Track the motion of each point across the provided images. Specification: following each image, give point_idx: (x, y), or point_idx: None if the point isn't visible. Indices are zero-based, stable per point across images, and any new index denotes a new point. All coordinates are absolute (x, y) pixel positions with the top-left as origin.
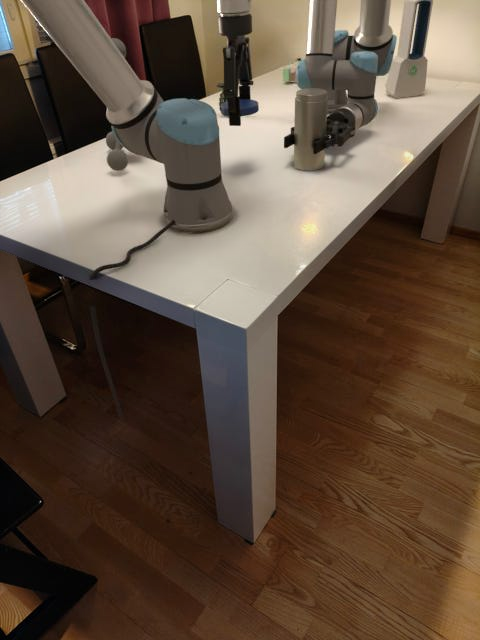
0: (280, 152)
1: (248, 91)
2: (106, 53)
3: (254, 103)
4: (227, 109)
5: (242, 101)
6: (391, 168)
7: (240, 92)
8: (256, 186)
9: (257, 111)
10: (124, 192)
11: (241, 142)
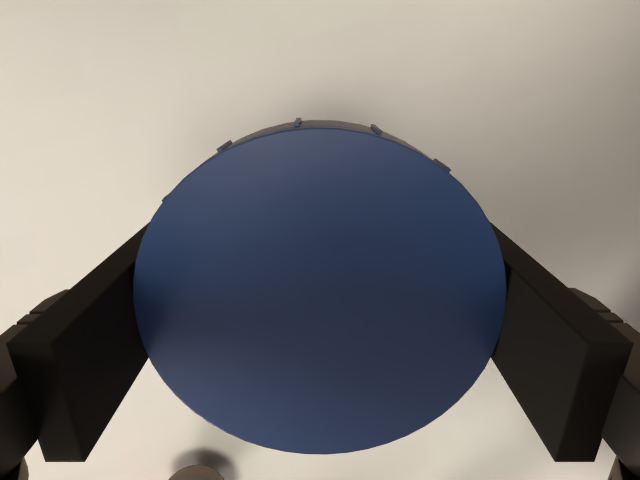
0: (76, 44)
1: (90, 319)
2: None
3: (288, 174)
4: (474, 376)
5: (225, 316)
6: None
7: (115, 396)
8: (519, 59)
9: (333, 121)
10: (560, 474)
11: (16, 265)
